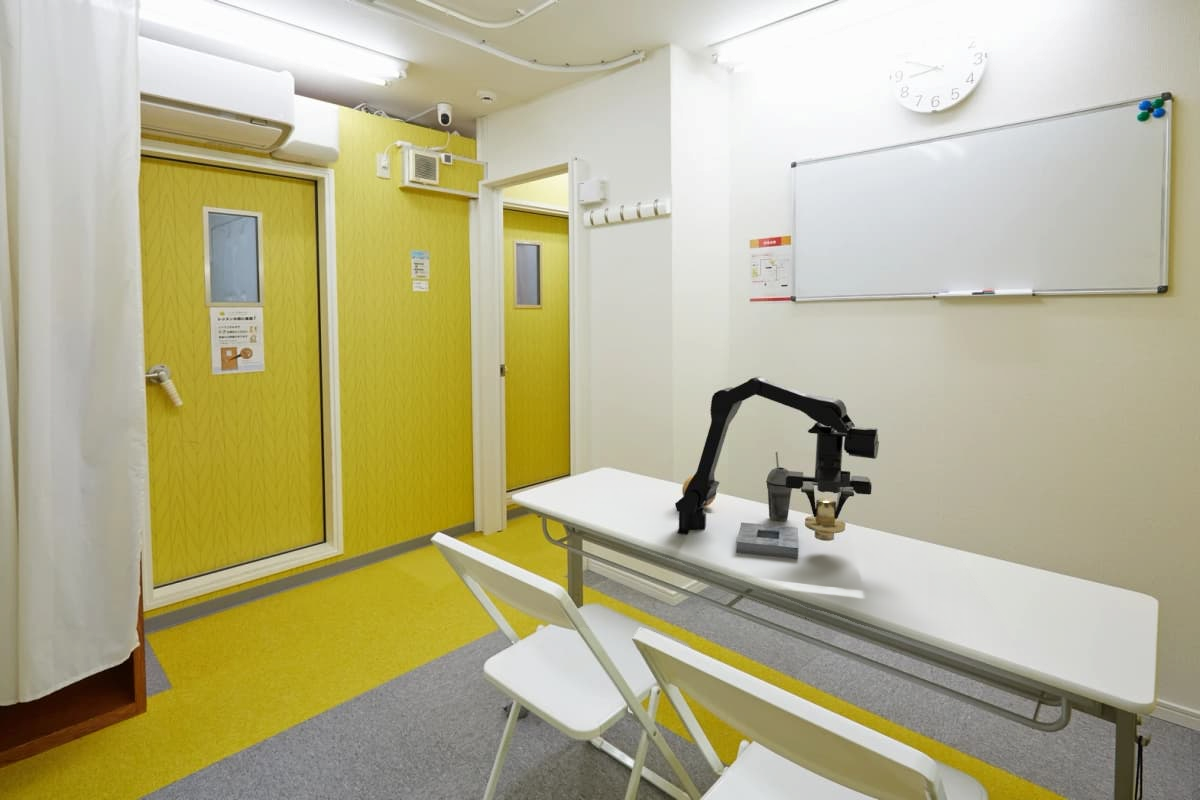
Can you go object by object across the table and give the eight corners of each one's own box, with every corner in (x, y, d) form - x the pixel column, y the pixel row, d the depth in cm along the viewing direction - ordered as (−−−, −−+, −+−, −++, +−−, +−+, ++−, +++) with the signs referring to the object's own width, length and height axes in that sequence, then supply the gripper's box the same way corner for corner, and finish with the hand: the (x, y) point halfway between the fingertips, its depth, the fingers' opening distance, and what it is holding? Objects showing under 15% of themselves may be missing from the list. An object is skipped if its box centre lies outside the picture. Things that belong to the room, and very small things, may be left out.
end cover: (804, 542, 150) (806, 505, 148) (804, 529, 158) (805, 494, 157) (845, 546, 147) (848, 508, 146) (843, 532, 156) (845, 497, 154)
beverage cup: (793, 528, 173) (796, 455, 170) (765, 526, 174) (767, 454, 171) (790, 519, 180) (793, 449, 177) (763, 517, 181) (766, 448, 178)
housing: (736, 557, 153) (736, 541, 153) (740, 537, 167) (741, 522, 166) (797, 564, 149) (798, 547, 149) (797, 542, 163) (797, 527, 162)
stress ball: (685, 505, 196) (669, 490, 190) (704, 479, 197) (689, 463, 191) (709, 519, 188) (693, 503, 182) (728, 492, 190) (712, 475, 183)
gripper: (786, 458, 144) (783, 525, 147) (876, 464, 139) (871, 533, 142) (787, 447, 155) (784, 509, 157) (870, 452, 150) (866, 517, 152)
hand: (825, 517), depth 152 cm, fingers closed on end cover, 4 cm apart
